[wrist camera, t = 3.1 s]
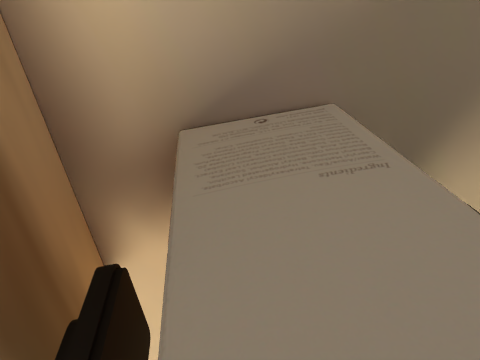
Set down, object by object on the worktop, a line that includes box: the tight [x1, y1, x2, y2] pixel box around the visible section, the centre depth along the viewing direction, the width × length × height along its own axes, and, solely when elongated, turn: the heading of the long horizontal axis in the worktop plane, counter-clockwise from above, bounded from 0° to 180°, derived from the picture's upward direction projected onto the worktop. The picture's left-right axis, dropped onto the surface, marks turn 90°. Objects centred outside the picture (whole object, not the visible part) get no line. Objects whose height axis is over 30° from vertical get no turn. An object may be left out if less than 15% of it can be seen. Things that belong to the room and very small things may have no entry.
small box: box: [158, 104, 480, 360], centre depth 9 cm, size 8×6×10 cm
